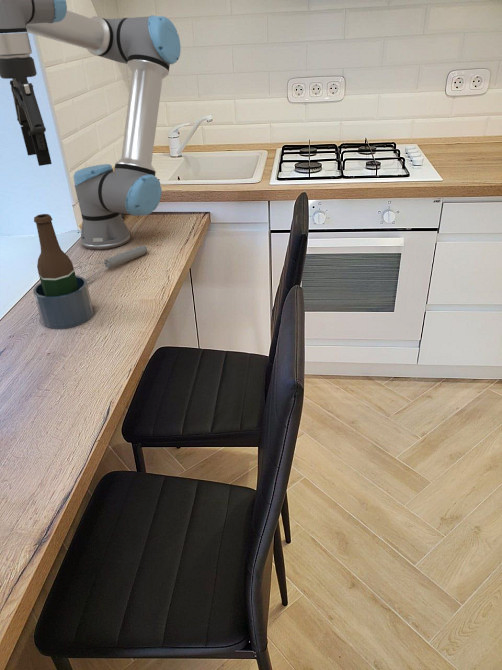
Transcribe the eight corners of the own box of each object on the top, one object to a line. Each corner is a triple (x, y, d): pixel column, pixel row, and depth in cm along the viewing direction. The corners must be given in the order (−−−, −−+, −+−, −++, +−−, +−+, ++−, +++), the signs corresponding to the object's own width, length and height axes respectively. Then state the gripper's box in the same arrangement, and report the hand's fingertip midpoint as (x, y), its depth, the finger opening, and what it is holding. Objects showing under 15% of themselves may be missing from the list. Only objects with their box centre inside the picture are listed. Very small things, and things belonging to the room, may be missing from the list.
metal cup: (59, 303, 131) (51, 273, 127) (102, 306, 128) (95, 276, 124) (31, 326, 121) (22, 295, 117) (77, 330, 118) (69, 299, 114)
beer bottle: (65, 325, 120) (39, 223, 107) (43, 317, 123) (15, 218, 111) (91, 310, 125) (68, 212, 113) (68, 303, 129) (44, 208, 117)
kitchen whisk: (157, 252, 157) (154, 232, 154) (67, 298, 133) (62, 276, 130) (142, 249, 160) (139, 229, 157) (52, 293, 136) (46, 271, 133)
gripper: (-12, 56, 120) (14, 152, 130) (4, 60, 101) (32, 172, 112) (22, 54, 123) (44, 148, 134) (44, 57, 104) (68, 166, 115)
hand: (39, 159), depth 123 cm, fingers open, 13 cm apart
